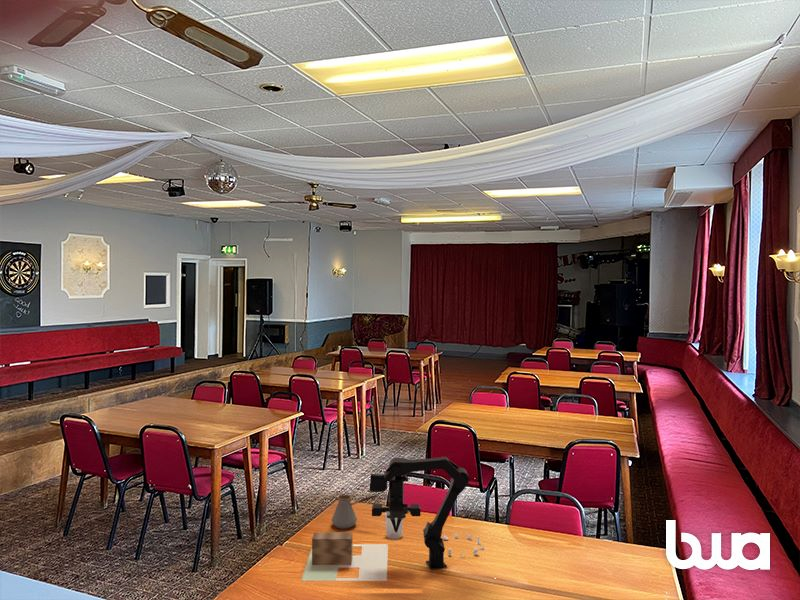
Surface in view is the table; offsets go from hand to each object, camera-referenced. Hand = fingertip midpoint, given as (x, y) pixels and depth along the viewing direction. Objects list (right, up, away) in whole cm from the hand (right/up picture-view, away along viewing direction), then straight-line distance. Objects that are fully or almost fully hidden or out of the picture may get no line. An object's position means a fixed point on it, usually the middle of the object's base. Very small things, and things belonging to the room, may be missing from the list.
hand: (396, 531), depth 226 cm
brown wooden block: (-25, -11, 0) cm, 27 cm away
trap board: (-19, -13, 0) cm, 23 cm away
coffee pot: (-19, -12, +37) cm, 43 cm away
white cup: (-1, -13, +27) cm, 30 cm away
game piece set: (+26, -13, +16) cm, 34 cm away
